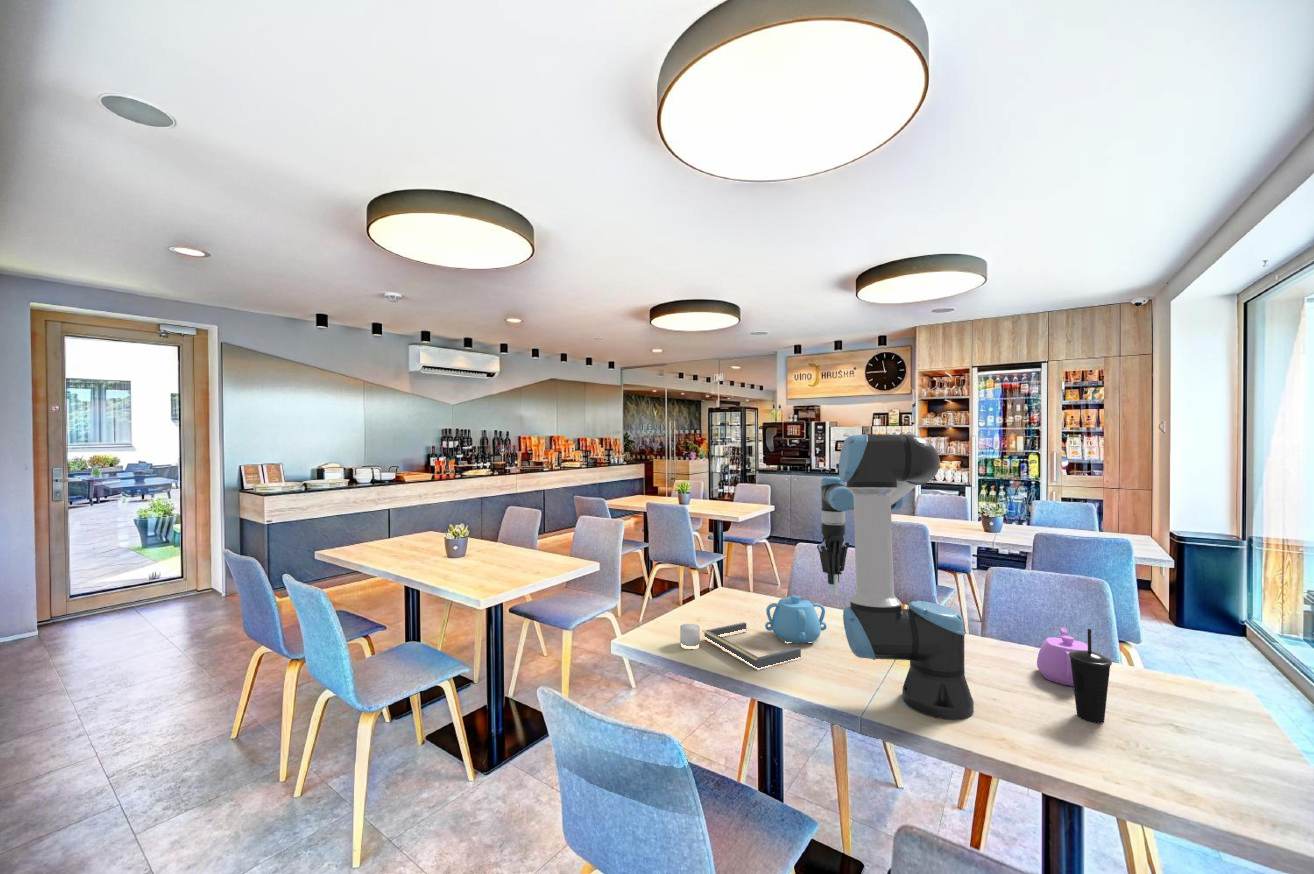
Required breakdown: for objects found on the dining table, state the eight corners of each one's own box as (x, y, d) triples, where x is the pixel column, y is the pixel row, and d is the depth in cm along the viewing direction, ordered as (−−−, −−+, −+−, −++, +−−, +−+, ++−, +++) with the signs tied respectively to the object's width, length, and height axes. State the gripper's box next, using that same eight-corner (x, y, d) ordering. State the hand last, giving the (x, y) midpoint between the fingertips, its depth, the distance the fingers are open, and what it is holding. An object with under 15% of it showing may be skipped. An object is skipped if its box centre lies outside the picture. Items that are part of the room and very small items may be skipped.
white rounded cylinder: (703, 647, 165) (703, 628, 165) (686, 651, 162) (686, 631, 162) (691, 640, 171) (691, 621, 171) (675, 644, 168) (675, 625, 168)
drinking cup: (1115, 730, 117) (1114, 637, 117) (1071, 720, 121) (1070, 631, 121) (1109, 715, 123) (1108, 627, 123) (1067, 706, 127) (1066, 621, 127)
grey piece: (800, 659, 156) (800, 647, 156) (755, 671, 148) (755, 659, 148) (744, 631, 179) (744, 621, 179) (702, 640, 171) (702, 630, 171)
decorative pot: (833, 640, 171) (832, 597, 171) (800, 652, 161) (800, 606, 161) (791, 626, 184) (791, 586, 184) (759, 636, 174) (759, 594, 174)
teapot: (1093, 669, 148) (1092, 629, 148) (1107, 700, 130) (1107, 653, 131) (1033, 659, 154) (1033, 621, 155) (1040, 687, 137) (1039, 643, 137)
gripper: (838, 519, 187) (838, 587, 187) (810, 523, 181) (811, 593, 181) (855, 523, 181) (856, 593, 181) (827, 526, 174) (827, 599, 175)
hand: (833, 593), depth 181 cm, fingers closed
